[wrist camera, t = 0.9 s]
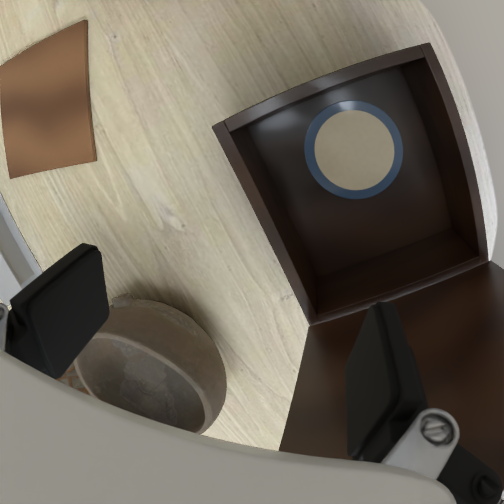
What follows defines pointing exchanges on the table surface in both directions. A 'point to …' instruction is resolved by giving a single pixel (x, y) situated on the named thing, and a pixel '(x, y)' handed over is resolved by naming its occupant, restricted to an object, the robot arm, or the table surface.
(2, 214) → the grey plastic case
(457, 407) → the lid
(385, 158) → the blue beige short cylinder
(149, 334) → the bowl
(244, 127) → the chest
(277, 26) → the table surface
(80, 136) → the plate
